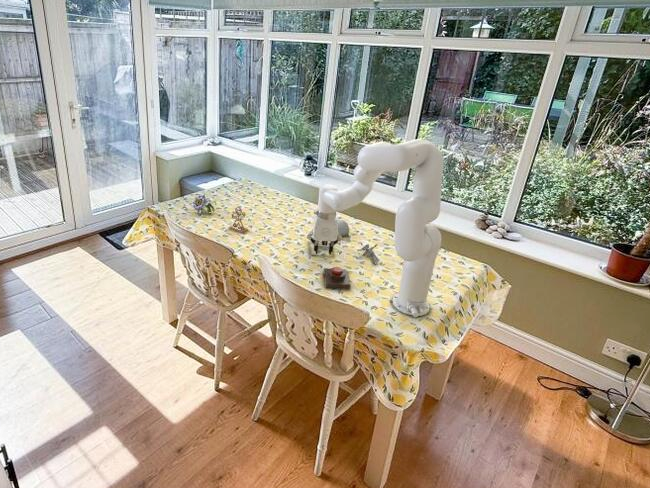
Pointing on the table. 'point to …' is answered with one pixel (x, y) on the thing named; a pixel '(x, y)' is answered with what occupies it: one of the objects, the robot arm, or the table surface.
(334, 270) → the button
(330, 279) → the button block
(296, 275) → the table surface
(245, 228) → the brown openwork figurine
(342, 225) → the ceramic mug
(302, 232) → the table surface
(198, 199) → the passion flower
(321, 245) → the lever
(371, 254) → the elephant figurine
